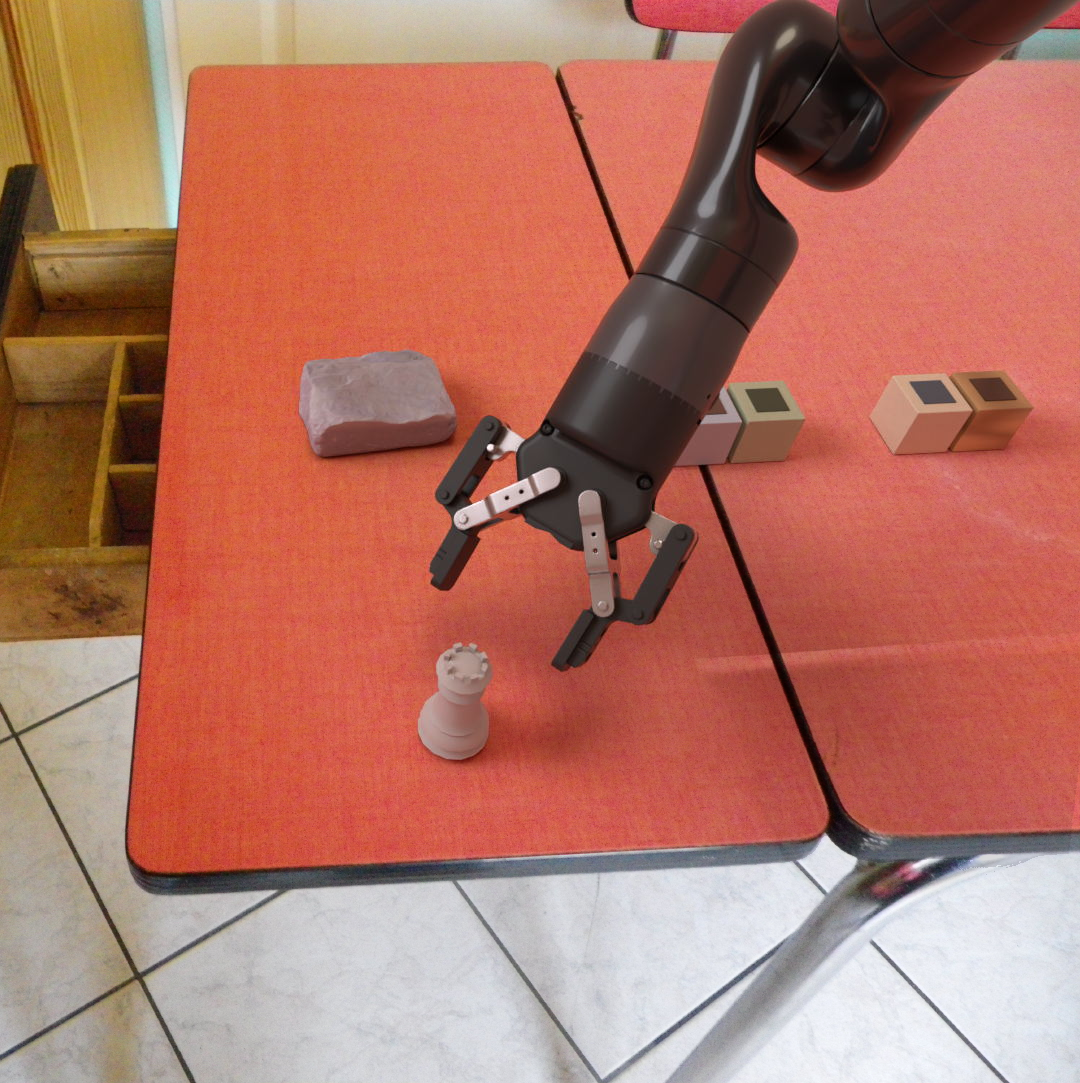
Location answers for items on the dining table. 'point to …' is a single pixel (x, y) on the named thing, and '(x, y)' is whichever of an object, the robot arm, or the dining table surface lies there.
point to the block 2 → (764, 421)
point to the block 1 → (713, 435)
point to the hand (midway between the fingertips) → (497, 627)
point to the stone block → (374, 403)
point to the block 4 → (989, 410)
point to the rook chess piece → (457, 704)
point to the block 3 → (920, 413)
